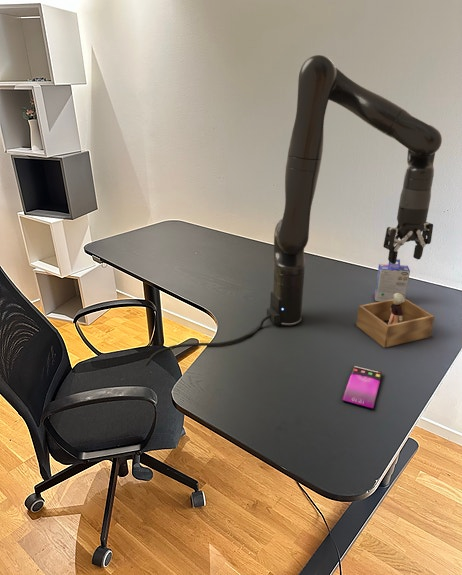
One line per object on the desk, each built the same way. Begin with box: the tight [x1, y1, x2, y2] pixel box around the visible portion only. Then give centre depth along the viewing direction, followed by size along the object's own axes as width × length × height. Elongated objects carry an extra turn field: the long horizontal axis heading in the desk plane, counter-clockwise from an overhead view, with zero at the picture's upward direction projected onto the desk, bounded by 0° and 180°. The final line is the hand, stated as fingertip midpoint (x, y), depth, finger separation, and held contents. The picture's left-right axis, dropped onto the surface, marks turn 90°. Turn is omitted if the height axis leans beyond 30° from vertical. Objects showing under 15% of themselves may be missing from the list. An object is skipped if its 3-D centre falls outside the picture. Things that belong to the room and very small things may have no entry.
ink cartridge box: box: [374, 258, 411, 302], centre depth 151 cm, size 10×6×14 cm, turn 79°
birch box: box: [355, 297, 435, 348], centre depth 133 cm, size 17×14×7 cm
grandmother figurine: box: [387, 293, 406, 325], centre depth 132 cm, size 8×4×13 cm, turn 14°
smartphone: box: [341, 365, 383, 410], centre depth 109 cm, size 7×15×1 cm, turn 155°
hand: (404, 260), depth 125 cm, fingers open, 8 cm apart
